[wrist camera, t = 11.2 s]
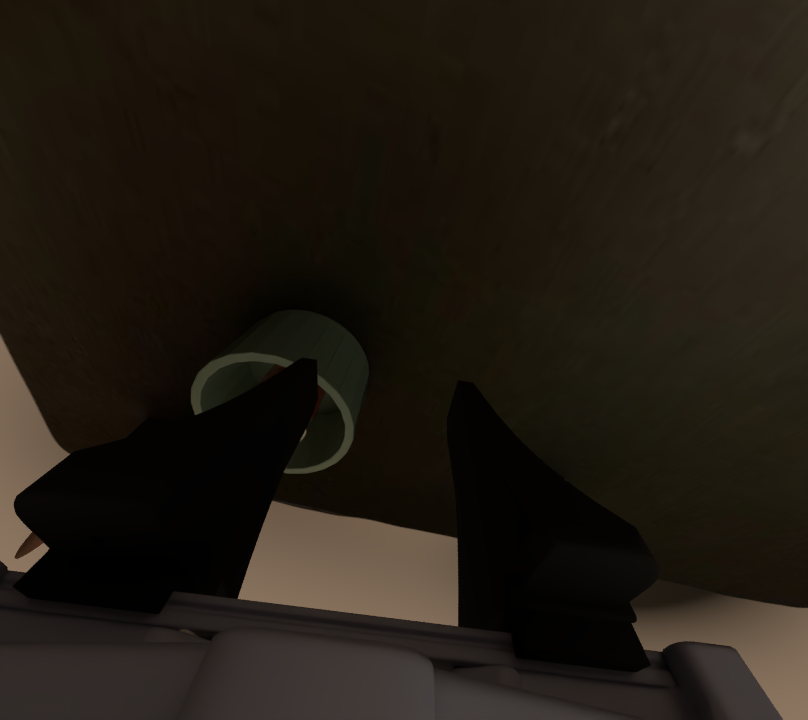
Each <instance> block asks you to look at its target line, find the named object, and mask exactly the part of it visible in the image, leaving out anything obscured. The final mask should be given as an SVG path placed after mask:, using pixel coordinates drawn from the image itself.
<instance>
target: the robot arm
mask: <svg viewBox="0 0 808 720" xmlns="http://www.w3.org/2000/svg"><path fill="white" fill-rule="evenodd" d="M317 401H318V376H317V360H315V359H309V358H300V359H299V360H297V361H296V362H294V363H292V364H291V365H289V366H288V367H286V368H285V369H283V370H282V371H280V372H278V373H277V374H275V375H274V376H272V377H270V378H269V379H267V380H266V381H264V382H262V383H261V384H259V385H257V386H255V387H253V388H252V389H250V390H248V391H246V392H244V393H243V394H241V395H239V396H237V397H235V398H233V399H231V400H229V401H227V402H225V403H223V404H220V405H218V406H216V407H214V408H212V409H209V410H207V411H205V412H202V413H199V414H197V415H194V416H192V417H189V418H186V419H184V420H181V421H179V422H176V423H173V424H170V425H167V426H164V427H161V428H158V429H155V430H152V431H149V432H145V433H142V434H139V435H136V436H132V437H129V438H125V439H121V440H117V441H113V442H110V443H106V444H102V445H98V446H94V447H90V448H86V449H82V450H78V451H74V452H73V453H71V454H70V455H69V456H68V457H66V458H65V459H64V460H63V461H61V462H60V463H59V464H58V465H56V466H55V467H53V468H52V469H51V470H50V471H48V472H47V473H46V474H44V475H43V476H42V477H40V478H39V479H38V480H37V481H35V482H34V483H33V484H31V485H30V486H29V487H27V488H26V489H25V490H24V491H22V492H21V493H20V494H19V495H17V496H16V499H15V501H14V509H15V512H16V514H17V516H18V517H19V518H20V519H21V521H22V522H23V523H24V524H25V525H26V526H27V527H28V528H29V529H30V530H31V531H32V532H33V533H34V534H35V535H36V536H37V537H38V538H39V539H40V540H41V541H42V542H44V543H45V544H46V545H47V546H48V547H49V548H50V550H49V551H48V552H47V553H46V554H45V555H44V556H43V557H42V558H41V559H40V560H39V561H38V562H37V563H35V565H33V567H31V568H30V570H28V572H26V573H24V572H17V571H8V570H7V566H5V565H4V563H2V562H1V561H0V720H783V719H782V717H781V716H780V714H779V713H778V711H777V710H776V708H775V707H774V706H773V704H772V703H771V701H770V700H769V698H768V697H767V695H766V694H765V692H764V691H763V689H762V688H761V686H760V685H759V683H758V682H757V680H756V679H755V677H754V676H753V674H752V673H751V671H750V670H749V668H748V667H747V665H746V664H745V662H744V661H743V659H742V658H741V656H740V655H739V653H738V652H737V650H736V649H734V648H732V647H730V646H723V645H716V644H708V643H700V642H686V641H685V642H677V643H674V644H672V645H669V646H668V647H666V648H665V649H663V651H662V652H658V651H650V650H644V649H643V647H642V645H641V643H640V641H639V638H638V636H637V634H636V632H635V630H634V628H633V626H632V624H631V623H634V622H636V621H637V619H636V618H637V617H636V615H635V613H634V611H633V609H632V607H631V605H630V603H629V602H630V601H631V600H633V599H634V598H635V597H637V596H638V595H639V594H641V593H642V592H644V591H645V590H646V589H648V588H649V587H650V586H651V585H652V584H653V583H654V582H655V581H656V580H657V578H658V575H659V572H660V569H659V564H658V563H657V561H656V559H655V558H654V556H653V555H652V553H651V551H650V550H649V548H648V546H647V545H646V543H645V542H644V540H643V538H642V537H641V535H640V534H639V532H638V530H637V529H636V527H634V526H633V525H631V524H629V523H628V522H626V521H625V520H623V519H622V518H620V517H618V516H617V515H615V514H614V513H612V512H611V511H609V510H607V509H606V508H604V507H603V506H601V505H600V504H598V503H597V502H595V501H594V500H592V499H591V498H589V497H588V496H587V495H585V494H584V493H582V492H581V491H580V490H578V489H577V488H575V487H574V486H573V485H571V484H570V483H569V482H568V481H567V480H566V479H563V478H562V477H561V476H560V475H559V474H557V473H556V472H555V471H554V470H552V469H551V468H550V467H549V466H548V465H546V464H545V463H544V462H543V461H542V460H541V459H539V458H538V457H537V456H536V455H535V454H534V453H533V452H532V451H531V450H530V449H529V448H528V447H527V446H526V445H525V444H524V443H523V442H522V441H521V440H520V439H519V438H518V437H517V436H516V435H515V434H514V433H513V432H512V431H511V430H510V429H509V428H508V426H507V425H506V424H505V423H504V422H503V421H502V419H501V418H500V417H499V416H498V415H497V413H496V412H495V411H494V410H493V408H492V407H491V406H490V405H489V403H488V402H487V401H486V399H485V398H484V397H483V395H482V394H481V393H480V391H479V390H478V389H477V387H476V386H475V385H474V383H471V382H464V381H458V383H457V386H456V390H455V393H454V396H453V400H452V403H451V406H450V410H449V413H448V417H447V440H448V447H449V454H450V461H451V468H452V474H453V481H454V488H455V497H456V512H457V537H458V587H459V588H458V589H459V590H458V591H459V592H458V594H459V595H458V598H459V599H458V602H459V603H458V626H450V625H441V624H433V623H425V622H418V621H410V620H401V619H394V618H386V617H377V616H369V615H362V614H353V613H345V612H337V611H329V610H321V609H313V608H305V607H296V606H289V605H281V604H273V603H265V602H257V601H249V600H241V599H238V595H239V592H240V589H241V586H242V583H243V580H244V577H245V574H246V571H247V568H248V565H249V562H250V559H251V556H252V553H253V551H254V548H255V545H256V542H257V540H258V537H259V534H260V531H261V528H262V526H263V523H264V520H265V518H266V515H267V512H268V510H269V507H270V504H271V502H272V499H273V497H274V494H275V492H276V489H277V487H278V484H279V482H280V479H281V477H282V475H283V473H284V471H285V468H286V466H287V464H288V463H289V461H290V459H291V457H292V455H293V453H294V451H295V449H296V447H297V445H298V443H299V442H300V440H301V438H302V436H303V434H304V432H305V430H306V428H307V426H308V424H309V422H310V420H311V417H312V415H313V412H314V409H315V406H316V404H317Z"/></svg>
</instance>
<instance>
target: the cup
mask: <svg viewBox="0 0 808 720" xmlns="http://www.w3.org/2000/svg"><path fill="white" fill-rule="evenodd" d="M300 358H309V359H315V360H317V376H318V385H319V386H320V387H321V388H322V389H324V390H325V391H326V393H325V395H324V397H323V399H322V402H321V404H320V406H319V408H318V410H317V412H316V415H315V417H314V419H313V421H312V423H311V425H310V427H309V429H308V431H307V433H306V435H305V437H304V438H303V440H301V441H300V442H299V443H298V445H297V447H296V449H295V451H294V453H293V455H292V457H291V459H290V461H289V463H288V464H287V466H286V468H285V471H284V473H288V474H297V473H310V472H315V471H319V470H323V469H325V468H327V467H329V466H331V465H333V464H335V463H336V462H338V461H339V460H340V459H341V458H342V457H343V456H344V455H345V454H346V453H347V452H348V450H349V448H350V446H351V444H352V441H353V438H354V435H355V431H356V427H357V424H358V420H359V416H360V413H361V409H362V405H363V402H364V398H365V394H366V390H367V386H368V380H369V366H368V361H367V358H366V355H365V353H364V351H363V349H362V347H361V346H360V344H359V342H358V341H357V340H356V339H355V337H354V336H353V335H352V334H351V333H350V332H349V331H348V330H347V329H345V328H344V327H343V326H342V325H340V324H339V323H337V322H335V321H334V320H332V319H330V318H328V317H326V316H324V315H321V314H318V313H315V312H311V311H306V310H283V311H278V312H275V313H272V314H269V315H267V316H265V317H264V318H262V319H261V320H259V321H258V322H257V323H256V324H254V325H253V326H252V327H251V328H250V329H248V330H247V331H246V332H245V333H244V334H242V335H241V336H240V337H239V338H238V339H237V340H235V341H234V342H233V343H232V344H231V345H229V346H228V347H227V348H226V349H225V350H223V351H222V352H221V353H220V354H219V355H217V356H216V357H215V358H214V359H213V360H212V361H210V362H209V363H208V364H207V365H206V366H205V367H203V368H202V369H201V370H200V371H199V372H198V374H197V376H196V378H195V380H194V382H193V384H192V387H191V404H192V407H193V410H194V413H195V415H197V414H199V413H202V412H205V411H207V410H209V409H212V408H214V407H216V406H218V405H220V404H223V403H225V402H227V401H229V400H231V399H233V398H235V397H237V396H239V395H241V394H243V393H244V392H246V391H248V390H250V389H252V388H253V387H255V386H257V385H258V384H259V382H260V381H261V380H262V379H263V378H264V376H265V375H266V374H267V373H268V371H269V370H270V369H271V368H272V367H273V365H274V364H277V365H280V366H283V367H288V366H289V365H291V364H292V363H294V362H296V361H297V360H299V359H300Z"/></svg>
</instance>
